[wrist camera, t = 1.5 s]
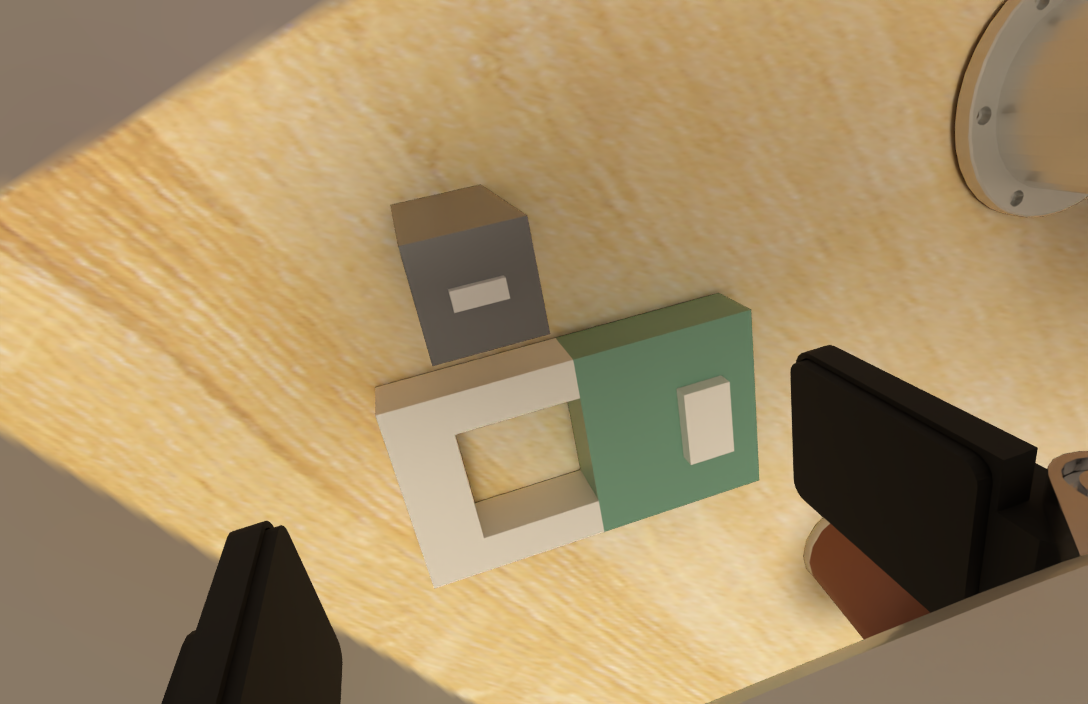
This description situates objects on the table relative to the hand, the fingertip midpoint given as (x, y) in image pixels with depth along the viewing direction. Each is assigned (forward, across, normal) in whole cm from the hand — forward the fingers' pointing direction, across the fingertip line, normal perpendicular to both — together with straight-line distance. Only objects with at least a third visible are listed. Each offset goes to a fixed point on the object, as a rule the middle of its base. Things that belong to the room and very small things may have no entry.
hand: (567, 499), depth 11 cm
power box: (+19, -4, +10) cm, 22 cm away
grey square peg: (+19, 0, -1) cm, 19 cm away
